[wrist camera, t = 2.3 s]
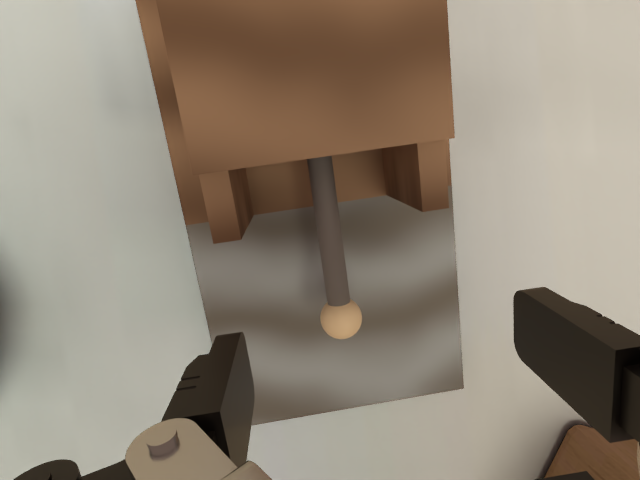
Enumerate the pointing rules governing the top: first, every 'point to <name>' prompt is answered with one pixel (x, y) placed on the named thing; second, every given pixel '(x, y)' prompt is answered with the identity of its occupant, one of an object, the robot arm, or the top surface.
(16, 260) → the top surface
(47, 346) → the top surface
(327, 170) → the cord block
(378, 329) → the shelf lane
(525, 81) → the top surface
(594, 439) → the block
